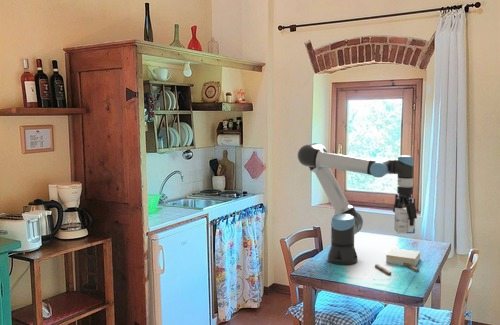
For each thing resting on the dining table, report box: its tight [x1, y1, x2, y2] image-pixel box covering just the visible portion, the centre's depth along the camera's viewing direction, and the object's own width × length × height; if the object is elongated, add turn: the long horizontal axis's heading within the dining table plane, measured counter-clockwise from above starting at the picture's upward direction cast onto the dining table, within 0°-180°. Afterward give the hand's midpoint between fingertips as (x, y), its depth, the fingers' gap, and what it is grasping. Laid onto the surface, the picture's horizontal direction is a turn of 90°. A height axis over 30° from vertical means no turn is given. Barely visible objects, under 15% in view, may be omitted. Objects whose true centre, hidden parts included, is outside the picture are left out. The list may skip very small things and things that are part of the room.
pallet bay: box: [374, 263, 420, 276], centre depth 224 cm, size 12×16×1 cm
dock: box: [385, 247, 421, 267], centre depth 237 cm, size 14×14×4 cm
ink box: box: [393, 207, 416, 234], centre depth 235 cm, size 9×8×12 cm
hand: (404, 229), depth 236 cm, fingers closed on ink box, 10 cm apart
